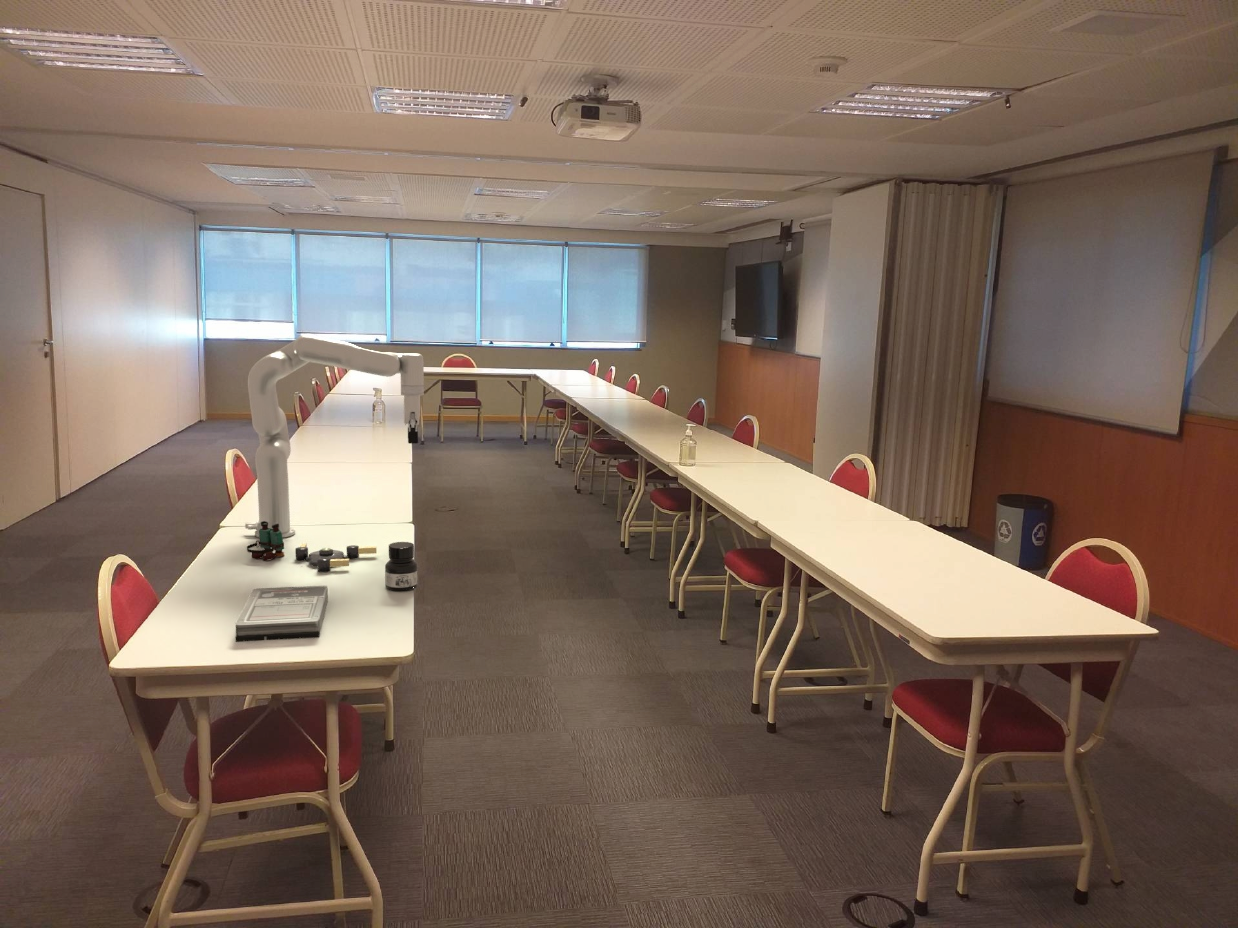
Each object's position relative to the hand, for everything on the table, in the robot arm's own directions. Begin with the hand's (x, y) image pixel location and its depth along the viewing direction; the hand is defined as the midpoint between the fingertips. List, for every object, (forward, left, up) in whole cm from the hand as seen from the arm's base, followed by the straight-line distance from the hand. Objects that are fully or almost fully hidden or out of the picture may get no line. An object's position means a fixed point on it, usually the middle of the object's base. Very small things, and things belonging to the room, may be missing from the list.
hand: (412, 441), depth 303 cm
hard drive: (-32, -84, -32) cm, 95 cm away
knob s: (-23, -43, -31) cm, 58 cm away
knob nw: (-33, -28, -31) cm, 54 cm away
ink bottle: (-4, -62, -31) cm, 70 cm away
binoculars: (-44, -28, -32) cm, 61 cm away
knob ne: (-16, -31, -31) cm, 47 cm away
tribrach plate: (-26, -35, -31) cm, 54 cm away
